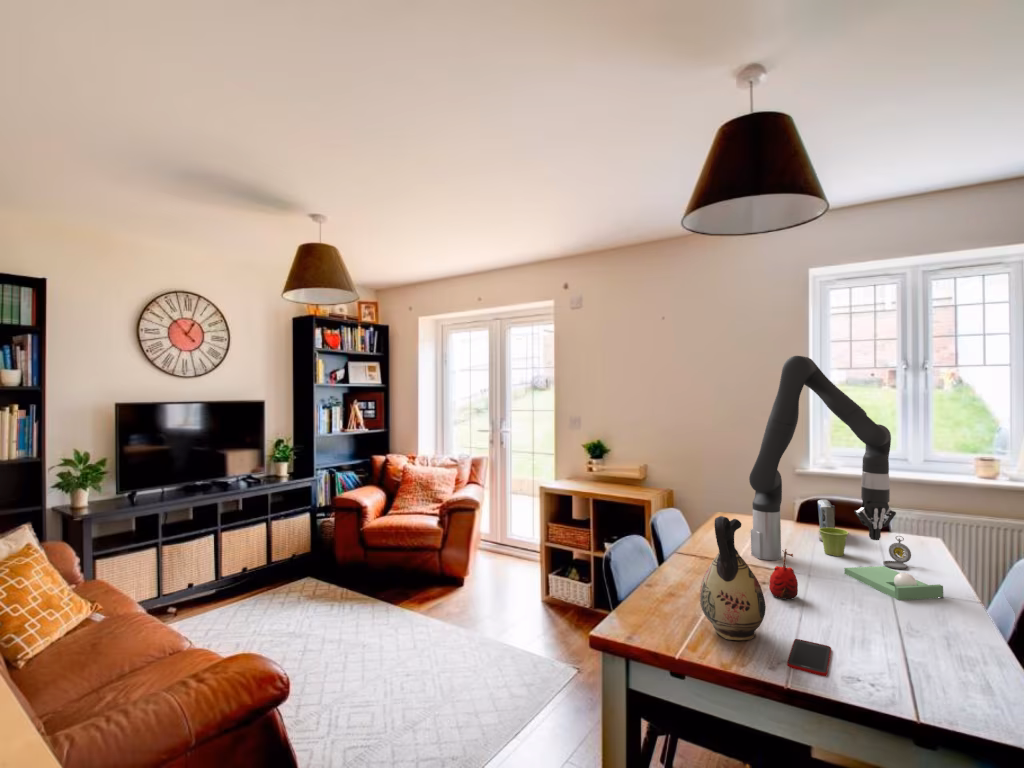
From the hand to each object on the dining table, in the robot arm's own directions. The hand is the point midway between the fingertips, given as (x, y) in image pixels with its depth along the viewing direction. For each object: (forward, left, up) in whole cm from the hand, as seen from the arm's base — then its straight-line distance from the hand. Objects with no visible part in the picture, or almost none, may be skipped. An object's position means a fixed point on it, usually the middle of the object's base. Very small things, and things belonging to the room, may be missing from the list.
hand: (874, 539), depth 168 cm
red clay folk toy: (-38, -11, -13) cm, 41 cm away
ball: (0, -11, -10) cm, 15 cm away
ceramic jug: (-65, -32, -13) cm, 73 cm away
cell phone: (-53, -45, -13) cm, 70 cm away
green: (0, -6, -13) cm, 14 cm away
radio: (+17, +49, -13) cm, 53 cm away
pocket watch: (+16, +10, -13) cm, 23 cm away
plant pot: (+4, +25, -13) cm, 29 cm away
